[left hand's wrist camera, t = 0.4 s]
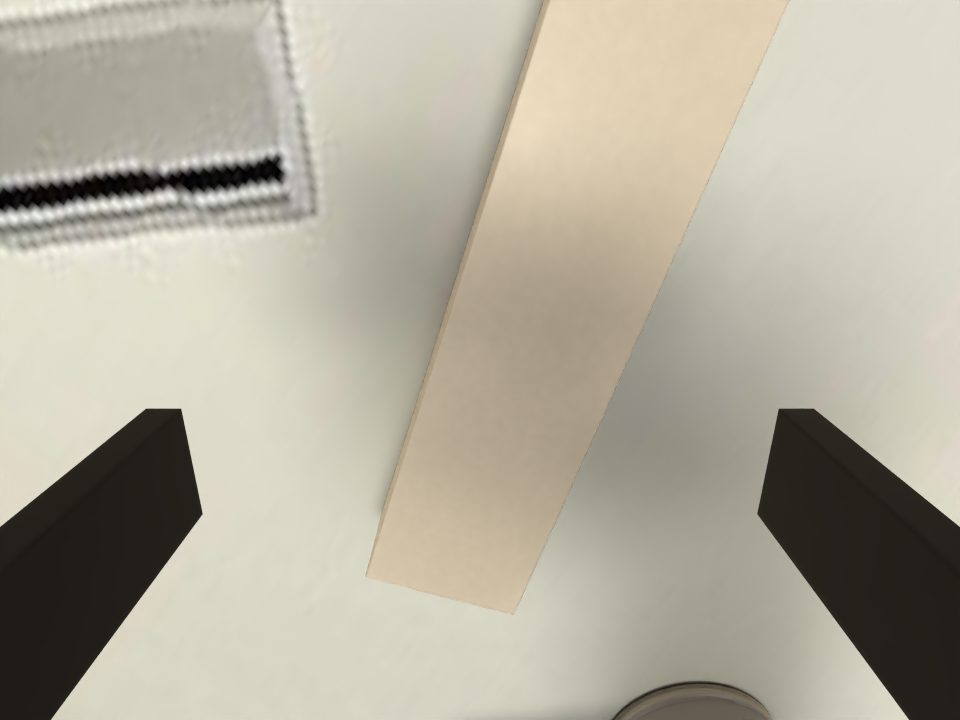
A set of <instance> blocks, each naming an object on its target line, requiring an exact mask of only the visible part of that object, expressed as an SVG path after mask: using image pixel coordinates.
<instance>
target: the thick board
mask: <svg viewBox="0 0 960 720" xmlns="http://www.w3.org/2000/svg"><path fill="white" fill-rule="evenodd" d="M788 3H789V0H544V1H543V4H542V7H541V10H540V13H539V17H538V20H537V23H536V26H535V29H534V32H533V36H532V39H531V42H530V45H529V48H528V51H527V55H526V58H525V61H524V64H523V67H522V70H521V74H520V77H519V80H518V83H517V86H516V89H515V93H514V96H513V99H512V102H511V105H510V108H509V112H508V115H507V118H506V121H505V124H504V127H503V131H502V134H501V137H500V140H499V143H498V147H497V150H496V153H495V156H494V159H493V162H492V166H491V169H490V172H489V175H488V178H487V181H486V185H485V188H484V191H483V194H482V197H481V200H480V204H479V207H478V210H477V213H476V216H475V219H474V223H473V226H472V229H471V232H470V235H469V238H468V242H467V245H466V248H465V251H464V254H463V257H462V261H461V264H460V267H459V270H458V273H457V276H456V280H455V283H454V286H453V289H452V292H451V295H450V299H449V302H448V305H447V308H446V311H445V315H444V318H443V321H442V324H441V327H440V330H439V334H438V337H437V340H436V343H435V346H434V349H433V353H432V356H431V359H430V362H429V365H428V368H427V372H426V375H425V378H424V381H423V384H422V387H421V391H420V394H419V397H418V400H417V403H416V406H415V410H414V413H413V416H412V419H411V422H410V425H409V429H408V432H407V435H406V438H405V441H404V444H403V448H402V451H401V454H400V457H399V460H398V464H397V467H396V470H395V473H394V476H393V479H392V483H391V486H390V489H389V492H388V495H387V498H386V502H385V505H384V508H383V511H382V515H381V518H380V522H379V526H378V530H377V534H376V538H375V542H374V545H373V549H372V553H371V557H370V561H369V565H368V569H367V572H366V577H367V578H370V579H374V580H378V581H382V582H386V583H390V584H394V585H398V586H402V587H406V588H410V589H414V590H418V591H422V592H426V593H430V594H434V595H438V596H442V597H446V598H450V599H454V600H457V601H461V602H465V603H469V604H473V605H477V606H481V607H485V608H489V609H493V610H497V611H501V612H505V613H509V614H515V611H516V609H517V607H518V605H519V603H520V600H521V598H522V596H523V594H524V591H525V589H526V587H527V585H528V582H529V580H530V578H531V576H532V574H533V571H534V569H535V567H536V565H537V562H538V560H539V558H540V556H541V553H542V551H543V549H544V547H545V545H546V542H547V540H548V538H549V536H550V533H551V531H552V529H553V527H554V524H555V522H556V520H557V518H558V516H559V513H560V511H561V509H562V507H563V504H564V502H565V500H566V498H567V495H568V493H569V491H570V489H571V487H572V484H573V482H574V480H575V478H576V475H577V473H578V471H579V469H580V466H581V464H582V462H583V460H584V458H585V455H586V453H587V451H588V449H589V446H590V444H591V442H592V440H593V438H594V435H595V433H596V431H597V429H598V426H599V424H600V422H601V420H602V417H603V415H604V413H605V411H606V409H607V406H608V404H609V402H610V400H611V397H612V395H613V393H614V391H615V388H616V386H617V384H618V382H619V380H620V377H621V375H622V373H623V371H624V368H625V366H626V364H627V362H628V359H629V357H630V355H631V353H632V351H633V348H634V346H635V344H636V342H637V339H638V337H639V335H640V333H641V330H642V328H643V326H644V324H645V322H646V319H647V317H648V315H649V313H650V310H651V308H652V306H653V304H654V301H655V299H656V297H657V295H658V293H659V290H660V288H661V286H662V284H663V281H664V279H665V277H666V275H667V272H668V270H669V268H670V266H671V264H672V261H673V259H674V257H675V255H676V252H677V250H678V248H679V246H680V243H681V241H682V239H683V237H684V235H685V232H686V230H687V228H688V226H689V223H690V221H691V219H692V217H693V214H694V212H695V210H696V208H697V206H698V203H699V201H700V199H701V197H702V194H703V192H704V190H705V188H706V185H707V183H708V181H709V179H710V177H711V174H712V172H713V170H714V168H715V165H716V163H717V161H718V159H719V156H720V154H721V152H722V150H723V148H724V145H725V143H726V141H727V139H728V136H729V134H730V132H731V130H732V127H733V125H734V123H735V121H736V119H737V116H738V114H739V112H740V110H741V107H742V105H743V103H744V101H745V98H746V96H747V94H748V92H749V90H750V87H751V85H752V83H753V81H754V78H755V76H756V74H757V72H758V69H759V67H760V65H761V63H762V61H763V58H764V56H765V54H766V52H767V49H768V47H769V45H770V43H771V40H772V38H773V36H774V34H775V32H776V29H777V27H778V25H779V23H780V20H781V18H782V16H783V14H784V12H785V9H786V7H787V5H788Z"/></svg>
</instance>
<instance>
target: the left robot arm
mask: <svg viewBox="0 0 960 720" xmlns="http://www.w3.org/2000/svg"><path fill="white" fill-rule="evenodd" d="M202 514H203V513H202V509H201V504H200V499H199V494H198V489H197V484H196V479H195V474H194V469H193V465H192V460H191V455H190V450H189V445H188V440H187V435H186V430H185V425H184V420H183V416H182V411H181V409H145V410H144V411H143V412H142V413H140V414H139V415H138V416H137V417H135V418H134V419H133V420H132V421H130V422H129V423H128V424H127V425H126V426H124V427H123V428H122V429H121V430H119V431H118V432H117V433H116V434H114V435H113V436H112V437H111V438H109V439H108V440H107V441H106V442H105V443H103V444H102V445H101V446H100V447H98V448H97V449H96V450H95V451H93V452H92V453H91V454H90V455H88V456H87V457H86V458H85V459H84V460H82V461H81V462H80V463H79V464H77V465H76V466H75V467H74V468H72V469H71V470H70V471H69V472H68V473H66V474H65V475H64V476H63V477H61V478H60V479H59V480H58V481H56V482H55V483H54V484H53V485H51V486H50V487H49V488H48V489H47V490H45V491H44V492H43V493H42V494H40V495H39V496H38V497H37V498H35V499H34V500H33V501H32V502H30V503H29V504H28V505H27V506H26V507H24V508H23V509H22V510H21V511H19V512H18V513H17V514H16V515H14V516H13V517H12V518H11V519H10V520H8V521H7V522H6V523H5V524H3V525H2V526H1V527H0V720H51V719H52V717H53V716H54V715H55V713H56V712H57V711H58V709H59V708H60V707H61V705H62V704H63V703H64V701H65V700H66V698H67V697H68V696H69V694H70V693H71V692H72V690H73V689H74V688H75V686H76V685H77V684H78V682H79V681H80V679H81V678H82V677H83V675H84V674H85V673H86V671H87V670H88V669H89V667H90V666H91V665H92V663H93V662H94V661H95V659H96V658H97V656H98V655H99V654H100V652H101V651H102V650H103V648H104V647H105V646H106V644H107V643H108V642H109V640H110V639H111V637H112V636H113V635H114V633H115V632H116V631H117V629H118V628H119V627H120V625H121V624H122V623H123V621H124V620H125V619H126V617H127V616H128V614H129V613H130V612H131V610H132V609H133V608H134V606H135V605H136V604H137V602H138V601H139V600H140V598H141V597H142V595H143V594H144V593H145V591H146V590H147V589H148V587H149V586H150V585H151V583H152V582H153V581H154V579H155V578H156V577H157V575H158V574H159V572H160V571H161V570H162V568H163V567H164V566H165V564H166V563H167V562H168V560H169V559H170V558H171V556H172V555H173V554H174V552H175V551H176V549H177V548H178V547H179V545H180V544H181V543H182V541H183V540H184V539H185V537H186V536H187V535H188V533H189V532H190V530H191V529H192V528H193V526H194V525H195V524H196V522H197V521H198V520H199V518H200V517H201V516H202ZM757 514H758V516H759V517H760V518H761V520H762V521H763V522H764V524H765V525H766V526H767V528H768V529H769V530H770V532H771V533H772V535H773V536H774V537H775V539H776V540H777V541H778V543H779V544H780V545H781V547H782V548H783V549H784V551H785V552H786V554H787V555H788V556H789V558H790V559H791V560H792V562H793V563H794V564H795V566H796V567H797V568H798V570H799V571H800V572H801V574H802V575H803V577H804V578H805V579H806V581H807V582H808V583H809V585H810V586H811V587H812V589H813V590H814V591H815V593H816V594H817V595H818V597H819V598H820V600H821V601H822V602H823V604H824V605H825V606H826V608H827V609H828V610H829V612H830V613H831V614H832V616H833V617H834V619H835V620H836V621H837V623H838V624H839V625H840V627H841V628H842V629H843V631H844V632H845V633H846V635H847V636H848V637H849V639H850V640H851V642H852V643H853V644H854V646H855V647H856V648H857V650H858V651H859V652H860V654H861V655H862V656H863V658H864V659H865V661H866V662H867V663H868V665H869V666H870V667H871V669H872V670H873V671H874V673H875V674H876V675H877V677H878V678H879V679H880V681H881V682H882V684H883V685H884V686H885V688H886V689H887V690H888V692H889V693H890V694H891V696H892V697H893V698H894V700H895V701H896V703H897V704H898V705H899V707H900V708H901V709H902V711H903V712H904V713H905V715H906V716H907V717H908V719H909V720H960V527H959V526H958V525H957V524H955V523H954V522H953V521H952V520H950V519H949V518H948V517H947V516H946V515H944V514H943V513H942V512H941V511H939V510H938V509H937V508H936V507H934V506H933V505H932V504H931V503H930V502H928V501H927V500H926V499H925V498H923V497H922V496H921V495H920V494H918V493H917V492H916V491H915V490H913V489H912V488H911V487H910V486H909V485H907V484H906V483H905V482H904V481H902V480H901V479H900V478H899V477H897V476H896V475H895V474H894V473H892V472H891V471H890V470H889V469H888V468H886V467H885V466H884V465H883V464H881V463H880V462H879V461H878V460H876V459H875V458H874V457H873V456H871V455H870V454H869V453H868V452H867V451H865V450H864V449H863V448H862V447H860V446H859V445H858V444H857V443H855V442H854V441H853V440H852V439H851V438H849V437H848V436H847V435H846V434H844V433H843V432H842V431H841V430H839V429H838V428H837V427H836V426H834V425H833V424H832V423H831V422H830V421H828V420H827V419H826V418H825V417H823V416H822V415H821V414H820V413H818V412H817V411H816V410H815V409H779V411H778V416H777V420H776V425H775V430H774V435H773V440H772V445H771V450H770V455H769V460H768V464H767V469H766V474H765V479H764V484H763V489H762V494H761V499H760V504H759V509H758V513H757ZM615 720H772V719H771V717H770V715H769V713H768V712H767V711H766V709H765V708H764V707H763V706H762V705H761V704H760V703H759V702H758V701H756V700H755V699H754V698H752V697H750V696H749V695H747V694H745V693H743V692H741V691H738V690H735V689H732V688H729V687H725V686H720V685H712V684H688V685H680V686H674V687H670V688H666V689H662V690H659V691H656V692H654V693H651V694H649V695H647V696H645V697H643V698H641V699H639V700H637V701H636V702H634V703H633V704H631V705H630V706H628V707H627V708H626V709H625V710H623V711H622V712H621V713H620V714H619V715H618V716H617V717H616V718H615Z"/></svg>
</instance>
